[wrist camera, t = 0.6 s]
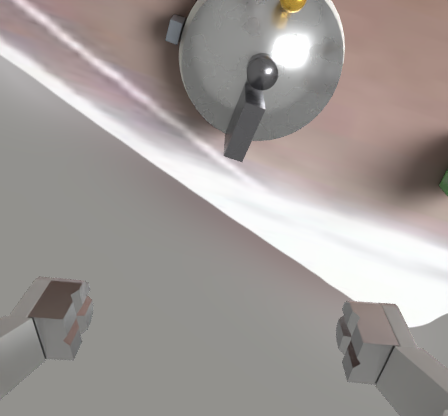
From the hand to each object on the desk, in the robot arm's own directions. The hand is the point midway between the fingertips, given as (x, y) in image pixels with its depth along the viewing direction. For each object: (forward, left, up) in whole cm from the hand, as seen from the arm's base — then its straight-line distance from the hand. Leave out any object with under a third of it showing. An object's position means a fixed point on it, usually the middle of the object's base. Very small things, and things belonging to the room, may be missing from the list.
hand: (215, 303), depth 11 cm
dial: (+2, +3, -31) cm, 32 cm away
